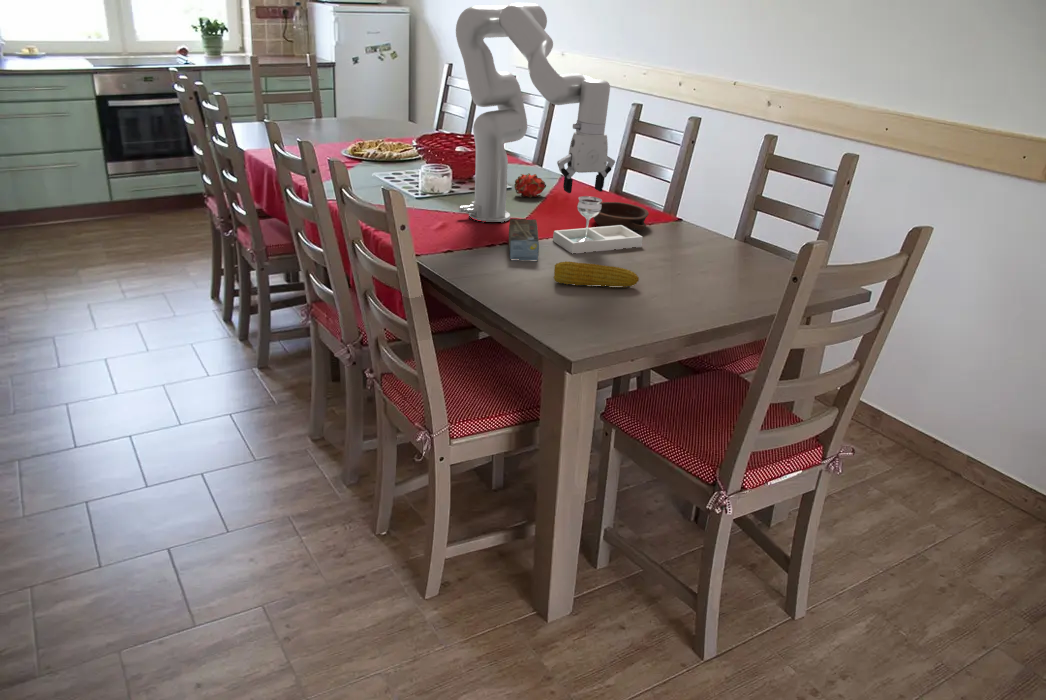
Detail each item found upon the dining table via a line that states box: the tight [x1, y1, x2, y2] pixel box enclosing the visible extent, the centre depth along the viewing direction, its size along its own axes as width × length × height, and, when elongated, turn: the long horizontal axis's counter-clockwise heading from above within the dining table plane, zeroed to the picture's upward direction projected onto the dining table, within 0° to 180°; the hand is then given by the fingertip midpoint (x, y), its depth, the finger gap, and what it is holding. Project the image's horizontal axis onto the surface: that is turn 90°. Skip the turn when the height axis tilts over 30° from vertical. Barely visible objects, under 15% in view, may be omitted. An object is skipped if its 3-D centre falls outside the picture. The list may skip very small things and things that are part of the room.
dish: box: [592, 201, 650, 232], centre depth 254 cm, size 18×22×5 cm
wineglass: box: [576, 195, 603, 242], centre depth 232 cm, size 7×7×12 cm
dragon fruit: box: [513, 173, 547, 199], centre depth 277 cm, size 8×8×12 cm
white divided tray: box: [552, 225, 643, 255], centre depth 235 cm, size 22×12×3 cm, turn 115°
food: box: [553, 260, 640, 287], centre depth 205 cm, size 21×6×6 cm, turn 91°
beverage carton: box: [508, 218, 540, 261], centre depth 226 cm, size 8×19×7 cm, turn 1°
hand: (582, 191), depth 227 cm, fingers open, 9 cm apart
